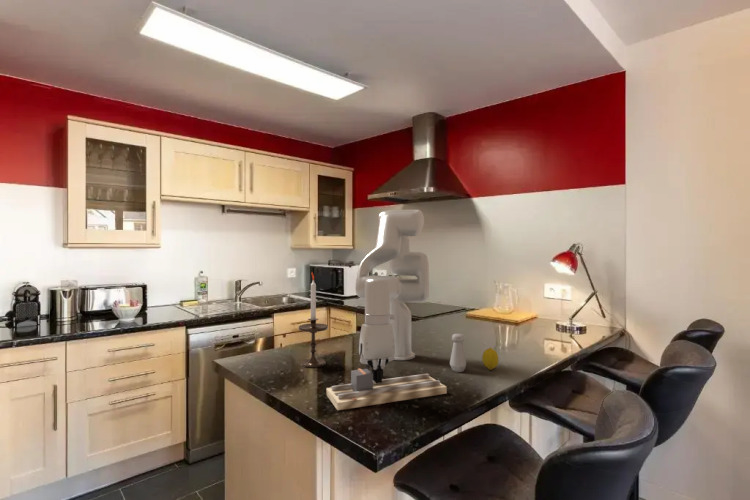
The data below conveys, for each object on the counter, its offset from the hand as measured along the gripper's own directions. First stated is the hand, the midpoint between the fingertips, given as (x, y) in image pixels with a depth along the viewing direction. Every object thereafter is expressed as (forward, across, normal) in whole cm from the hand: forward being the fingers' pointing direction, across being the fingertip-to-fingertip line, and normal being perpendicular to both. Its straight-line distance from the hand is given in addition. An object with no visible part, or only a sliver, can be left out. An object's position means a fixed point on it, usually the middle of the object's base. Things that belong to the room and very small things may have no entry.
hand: (377, 381), depth 114 cm
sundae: (+4, -4, -19) cm, 20 cm away
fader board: (+4, -3, 0) cm, 5 cm away
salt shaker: (+4, -36, -12) cm, 38 cm away
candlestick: (+4, +11, -38) cm, 40 cm away
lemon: (+4, -47, -8) cm, 48 cm away
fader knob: (+2, +5, 0) cm, 5 cm away
